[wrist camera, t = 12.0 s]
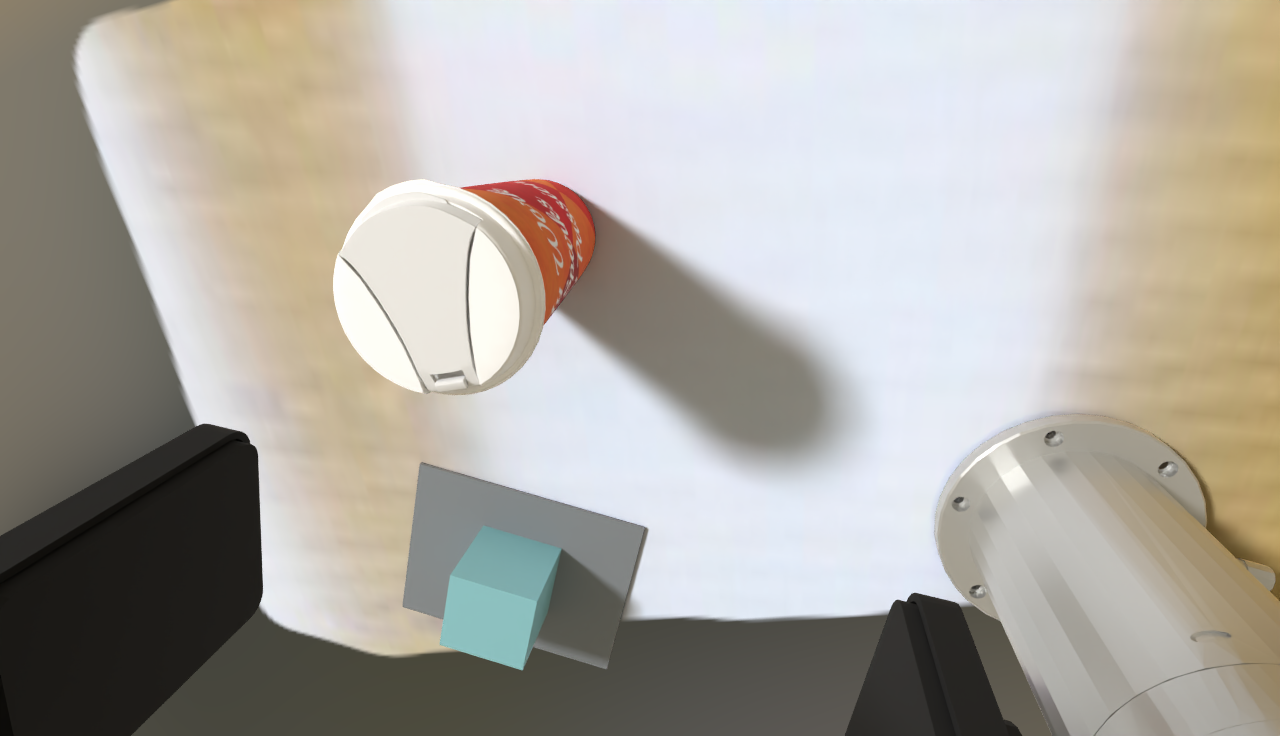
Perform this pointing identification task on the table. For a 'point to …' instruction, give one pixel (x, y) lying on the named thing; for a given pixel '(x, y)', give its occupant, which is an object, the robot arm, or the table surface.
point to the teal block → (499, 597)
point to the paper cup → (458, 279)
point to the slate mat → (589, 540)
